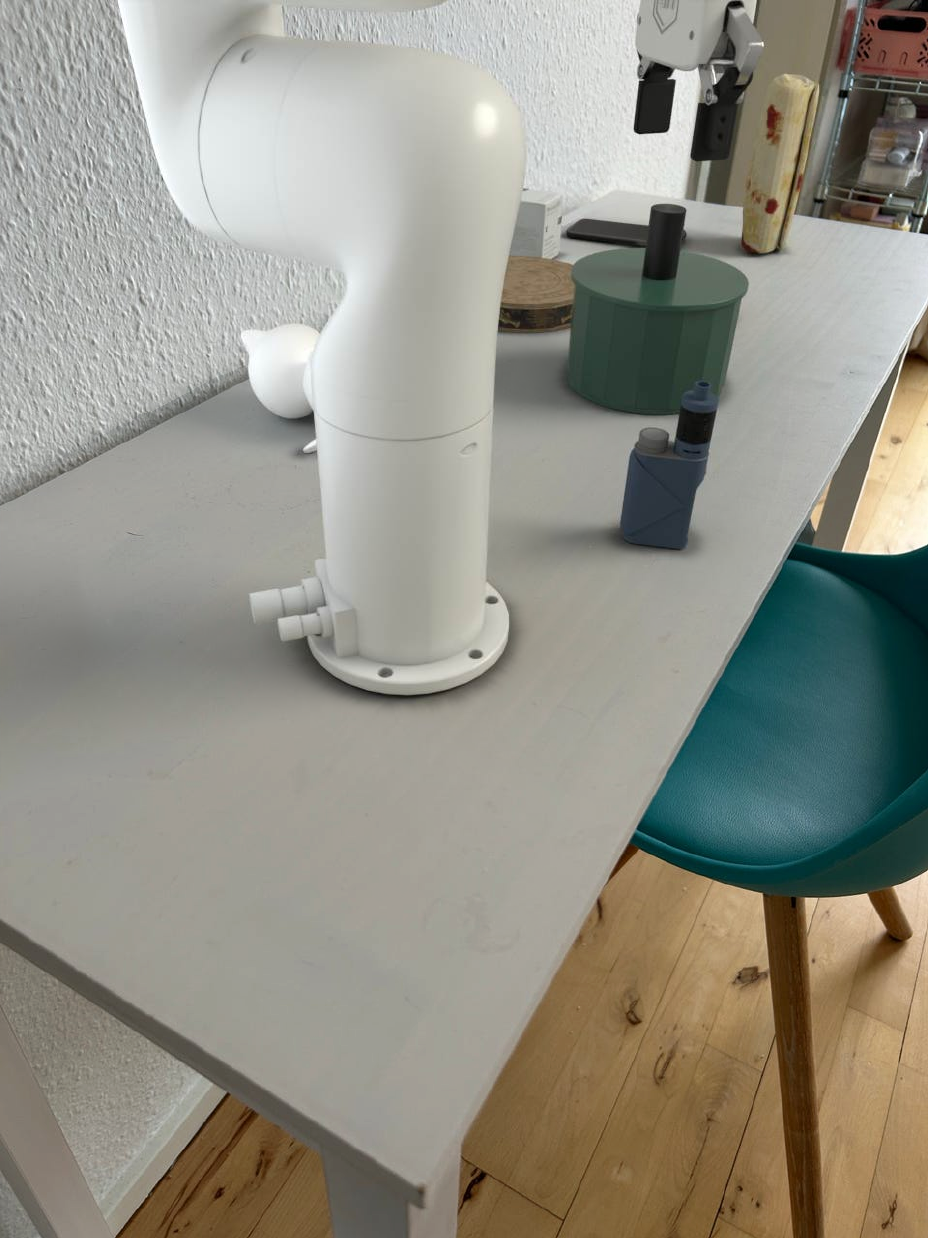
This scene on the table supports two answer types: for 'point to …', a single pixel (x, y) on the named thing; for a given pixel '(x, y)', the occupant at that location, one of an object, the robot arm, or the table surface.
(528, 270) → the round wooden disc
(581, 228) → the smartphone
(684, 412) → the vaping device
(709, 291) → the tin lid
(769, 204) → the food model
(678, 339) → the waste tin
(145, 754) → the table surface
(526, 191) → the white cardboard box
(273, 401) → the cat figurine
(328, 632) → the robot arm
